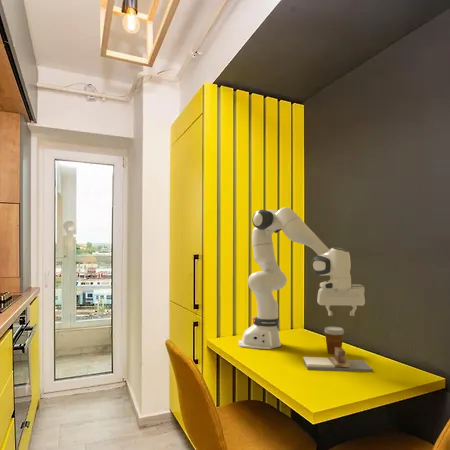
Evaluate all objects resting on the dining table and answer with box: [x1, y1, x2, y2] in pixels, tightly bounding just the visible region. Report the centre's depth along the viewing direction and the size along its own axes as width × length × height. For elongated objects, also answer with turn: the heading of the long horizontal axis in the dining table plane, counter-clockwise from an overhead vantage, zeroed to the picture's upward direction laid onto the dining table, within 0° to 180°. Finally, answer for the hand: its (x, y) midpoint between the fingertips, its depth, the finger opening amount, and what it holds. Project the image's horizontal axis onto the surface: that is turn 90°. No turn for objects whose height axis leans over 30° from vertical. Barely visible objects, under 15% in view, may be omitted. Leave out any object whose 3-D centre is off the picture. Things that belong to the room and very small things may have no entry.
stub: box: [329, 347, 350, 367], centre depth 156 cm, size 6×10×6 cm, turn 176°
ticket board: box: [302, 356, 374, 373], centre depth 156 cm, size 27×12×2 cm, turn 86°
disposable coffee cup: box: [323, 326, 345, 356], centre depth 175 cm, size 10×10×12 cm
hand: (341, 315), depth 157 cm, fingers open, 8 cm apart
